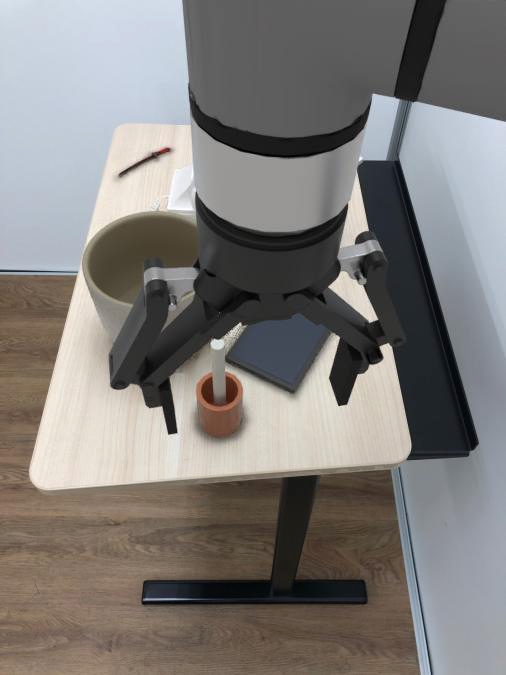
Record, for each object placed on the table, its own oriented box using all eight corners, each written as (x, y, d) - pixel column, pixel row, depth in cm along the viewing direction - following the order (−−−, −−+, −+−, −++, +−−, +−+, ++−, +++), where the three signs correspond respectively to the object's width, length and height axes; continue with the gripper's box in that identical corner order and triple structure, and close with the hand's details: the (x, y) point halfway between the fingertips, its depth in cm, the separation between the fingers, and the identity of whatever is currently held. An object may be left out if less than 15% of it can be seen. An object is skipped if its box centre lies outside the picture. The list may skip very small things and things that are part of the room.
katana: (165, 147, 106) (165, 144, 105) (171, 150, 105) (171, 147, 105) (115, 175, 100) (114, 172, 99) (121, 178, 99) (120, 175, 98)
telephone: (266, 274, 86) (270, 213, 76) (136, 268, 86) (123, 206, 76) (269, 176, 101) (273, 114, 91) (159, 171, 101) (150, 108, 91)
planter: (225, 375, 75) (223, 304, 62) (101, 382, 73) (74, 312, 61) (219, 284, 85) (216, 207, 72) (109, 289, 83) (88, 212, 71)
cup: (249, 410, 71) (251, 382, 66) (228, 444, 69) (227, 418, 63) (213, 392, 73) (211, 363, 67) (191, 424, 70) (187, 397, 64)
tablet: (343, 310, 82) (344, 306, 81) (294, 394, 73) (294, 390, 72) (279, 283, 85) (280, 279, 84) (224, 360, 76) (224, 356, 75)
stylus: (228, 413, 70) (227, 341, 58) (222, 422, 70) (219, 351, 57) (218, 408, 71) (215, 336, 58) (212, 417, 70) (207, 345, 57)
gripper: (476, 121, 30) (387, 344, 47) (6, 165, 26) (95, 389, 43) (546, 210, 26) (420, 420, 43) (-6, 277, 22) (98, 477, 39)
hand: (256, 405), depth 43 cm, fingers open, 13 cm apart
